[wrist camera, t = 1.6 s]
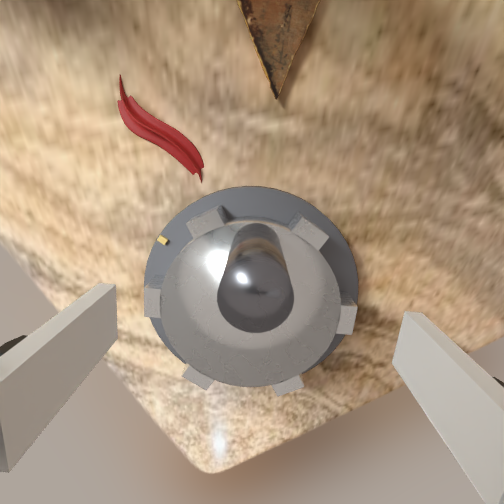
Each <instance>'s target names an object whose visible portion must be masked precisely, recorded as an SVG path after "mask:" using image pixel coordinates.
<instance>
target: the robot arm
mask: <svg viewBox="0 0 504 504" xmlns="http://www.w3.org/2000/svg"><path fill="white" fill-rule="evenodd" d="M117 339H118V332H117V303H116V285H115V284H104V283H98V284H97V285H96V286H94V287H93V288H92V289H90V290H89V291H88V292H86V293H85V294H84V295H82V296H81V297H80V298H78V299H77V300H76V301H74V302H73V303H72V304H70V305H69V306H68V307H66V308H65V309H63V310H62V311H61V312H59V313H58V314H57V315H56V316H54V317H53V318H51V319H50V320H49V321H47V322H46V323H45V324H43V325H42V326H41V327H39V328H38V329H37V330H36V331H34V332H33V333H31V334H30V335H29V336H25V335H23V336H20V337H18V338H16V339H13V340H11V341H9V342H7V343H5V344H4V345H2V346H1V347H0V472H8V473H9V472H10V471H11V470H12V468H13V467H14V466H15V465H16V463H17V462H18V461H19V460H20V459H21V457H22V456H23V455H24V454H25V452H26V451H27V450H28V449H29V447H30V446H31V445H32V444H33V442H34V441H35V440H36V439H37V438H38V436H39V435H40V434H41V433H42V431H43V430H44V429H45V428H46V426H47V425H48V424H49V423H50V421H51V420H52V419H53V418H54V417H55V415H56V414H57V413H58V412H59V410H60V409H61V408H62V407H63V405H64V404H65V403H66V402H67V401H68V399H69V398H70V397H71V396H72V394H73V393H74V392H75V391H76V389H77V388H78V387H79V385H80V384H81V383H82V382H83V381H84V379H85V378H86V377H87V376H88V374H89V373H90V372H91V371H92V369H93V368H94V367H95V366H96V364H97V363H98V362H99V361H100V360H101V358H102V357H103V356H104V355H105V353H106V352H107V351H108V350H109V349H110V347H111V346H112V345H113V344H114V342H115V341H116V340H117ZM392 364H393V366H394V367H395V369H396V370H397V372H398V373H399V375H400V376H401V378H402V379H403V381H404V382H405V384H406V385H407V387H408V388H409V390H410V391H411V393H412V394H413V396H414V397H415V399H416V400H417V402H418V403H419V405H420V406H421V408H422V409H423V411H424V412H425V414H426V415H427V417H428V418H429V420H430V421H431V423H432V424H433V425H434V427H435V429H436V430H437V432H438V433H439V435H440V436H441V438H442V439H443V441H444V442H445V444H446V445H447V447H448V448H449V450H450V451H451V453H452V454H453V456H454V457H455V459H456V460H457V462H458V463H459V465H460V466H461V468H462V469H463V471H464V472H465V474H466V475H467V477H468V478H469V480H470V481H471V483H472V484H473V486H474V487H475V489H476V490H477V492H478V493H479V495H480V496H481V498H482V499H483V501H484V502H485V504H504V383H503V382H502V381H500V380H498V379H497V378H495V377H491V376H490V375H489V374H488V373H487V372H486V371H485V370H484V369H483V368H482V367H481V366H479V365H478V364H477V363H476V362H475V361H474V360H473V359H472V358H471V357H469V356H468V355H467V354H466V353H465V352H464V351H463V350H462V349H461V348H460V347H459V346H458V345H456V344H455V343H454V342H453V341H452V340H451V339H450V338H449V337H448V336H447V335H446V334H444V333H443V332H442V331H441V330H440V329H439V328H438V327H437V326H436V325H435V324H434V323H432V322H431V321H430V320H429V319H428V318H427V317H426V316H425V315H424V314H423V313H420V312H409V311H405V313H404V317H403V321H402V325H401V329H400V333H399V336H398V340H397V344H396V348H395V352H394V356H393V360H392Z"/></svg>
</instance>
